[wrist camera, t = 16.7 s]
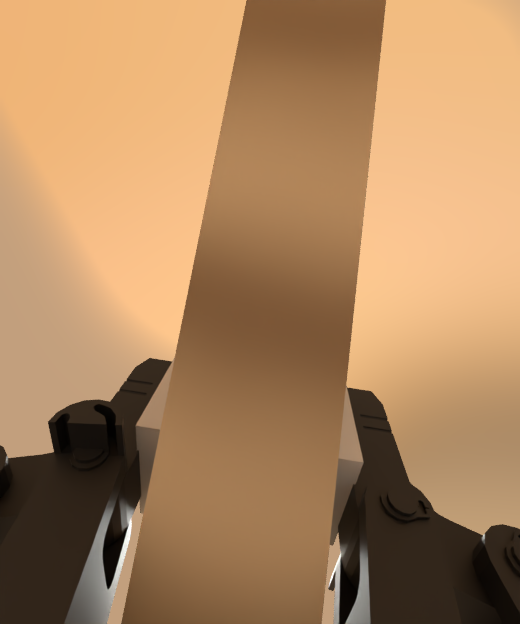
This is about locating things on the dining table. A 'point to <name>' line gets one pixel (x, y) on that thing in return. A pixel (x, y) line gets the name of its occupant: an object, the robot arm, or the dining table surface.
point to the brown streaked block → (265, 330)
